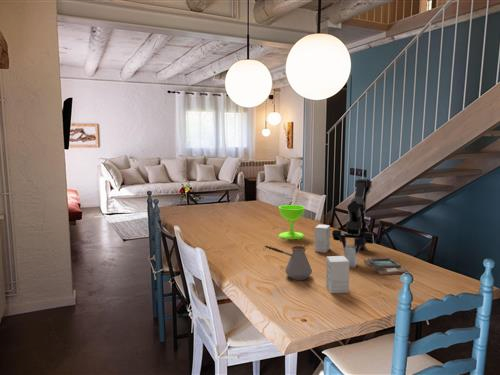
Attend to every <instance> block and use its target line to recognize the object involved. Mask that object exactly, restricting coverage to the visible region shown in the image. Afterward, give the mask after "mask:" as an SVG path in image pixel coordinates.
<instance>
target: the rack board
mask: <svg viewBox="0 0 500 375" xmlns="http://www.w3.org/2000/svg"><path fill="white" fill-rule="evenodd" d="M363 263H365V264H366V265H367V266H368V267H369V268H371V269H372V270H373V271H374V272H376V273H377V274H378V275H379V276H382V275H383V276H384V275H385V276H387V275H389V276H390V275H404V274H403V273H405V272H408V274H409V271H408V269H406V268H404V267H402V265H401V264H400V263H398V262H397V261H395V260H394V259H392V258H391V257H382V258H381V257H379V258H376V257H375V258H374V257H373V258H367V259H364V260H363Z"/></svg>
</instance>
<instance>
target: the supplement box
mask: <svg viewBox="0 0 500 375" xmlns="http://www.w3.org/2000/svg"><path fill="white" fill-rule="evenodd" d="M325 266H326V267H325V268H326V269H325V270H326V274H325V276H326V279H325V286H326V288H327V289H328V291H329V292H330V294H343V293H344V294H345V293H346V294H347V293H350V267H349V261H348V260H347V259H346V258H345V257H344V255H335V256H334V255H332V256H330V255H329V256H326V265H325Z"/></svg>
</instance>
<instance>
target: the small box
mask: <svg viewBox="0 0 500 375" xmlns="http://www.w3.org/2000/svg"><path fill="white" fill-rule="evenodd" d="M330 231H331V225H329V224H321V223H319V224H317V225H316V226H315V227H314V252H318V253H327V252H328V251H329V250H330V247H331V244H330V243H331V242H330V239H331V238H330V237H331V236H330V234H331V232H330Z"/></svg>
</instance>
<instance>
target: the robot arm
mask: <svg viewBox="0 0 500 375" xmlns="http://www.w3.org/2000/svg"><path fill="white" fill-rule="evenodd" d="M354 182H355V184H354V187H355V190H356V191H355V194H354V197H353V198H352V199H351V201H350V203H348V205H346V206H347V213H348V218H349V219H348V221H346V227H345V230H346V232H345V231H344V232H343V231H342V230H341V229H333V230H332V231H331V234H332V239H333V240H334V241H339V242H340V243H341V244H342V248H343V249H344V247H345V246H346V245H347V240H346V239H354V240H353V241H354V242H353V243H354V244H353V245H354V246H357V248H356V253H357V254H358V253H359V251H366V249H367V246H366V244H371V245H372V244H374V238H375V237H374V234H373V232H370V230H369V228H368V225H367V223H366V221H365V219H366V211H367V198H368V195H369V194H370V193H371V188H372V186H373V181H372V180H371V179H370V178H369V179H368V178H358V179H357V180H355V181H354Z"/></svg>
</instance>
